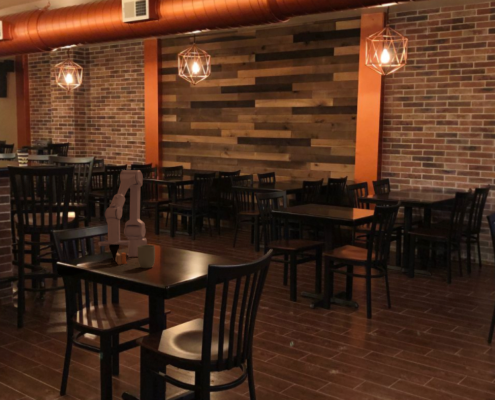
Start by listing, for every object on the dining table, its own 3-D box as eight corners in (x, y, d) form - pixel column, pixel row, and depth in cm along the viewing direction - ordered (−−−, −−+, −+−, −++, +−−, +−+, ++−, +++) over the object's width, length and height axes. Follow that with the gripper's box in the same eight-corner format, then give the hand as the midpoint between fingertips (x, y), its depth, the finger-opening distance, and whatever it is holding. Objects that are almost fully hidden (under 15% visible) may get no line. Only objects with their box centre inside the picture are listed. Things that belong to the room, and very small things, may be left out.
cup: (158, 266, 274) (157, 245, 273) (150, 269, 266) (149, 247, 266) (143, 265, 276) (142, 244, 275) (134, 268, 269) (134, 247, 268)
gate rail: (114, 260, 289) (114, 252, 289) (118, 260, 290) (118, 251, 290) (117, 264, 279) (117, 255, 279) (121, 264, 280) (121, 255, 279)
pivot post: (118, 259, 293) (118, 249, 292) (119, 260, 290) (119, 250, 290) (112, 259, 292) (112, 249, 291) (113, 260, 289) (113, 250, 289)
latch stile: (125, 262, 284) (125, 252, 283) (127, 263, 281) (126, 253, 281) (120, 262, 283) (120, 252, 283) (121, 264, 280) (121, 253, 280)
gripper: (97, 233, 275) (98, 262, 276) (129, 232, 278) (130, 261, 279) (98, 231, 282) (99, 259, 283) (129, 230, 285) (130, 258, 286)
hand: (114, 260), depth 282 cm, fingers closed
